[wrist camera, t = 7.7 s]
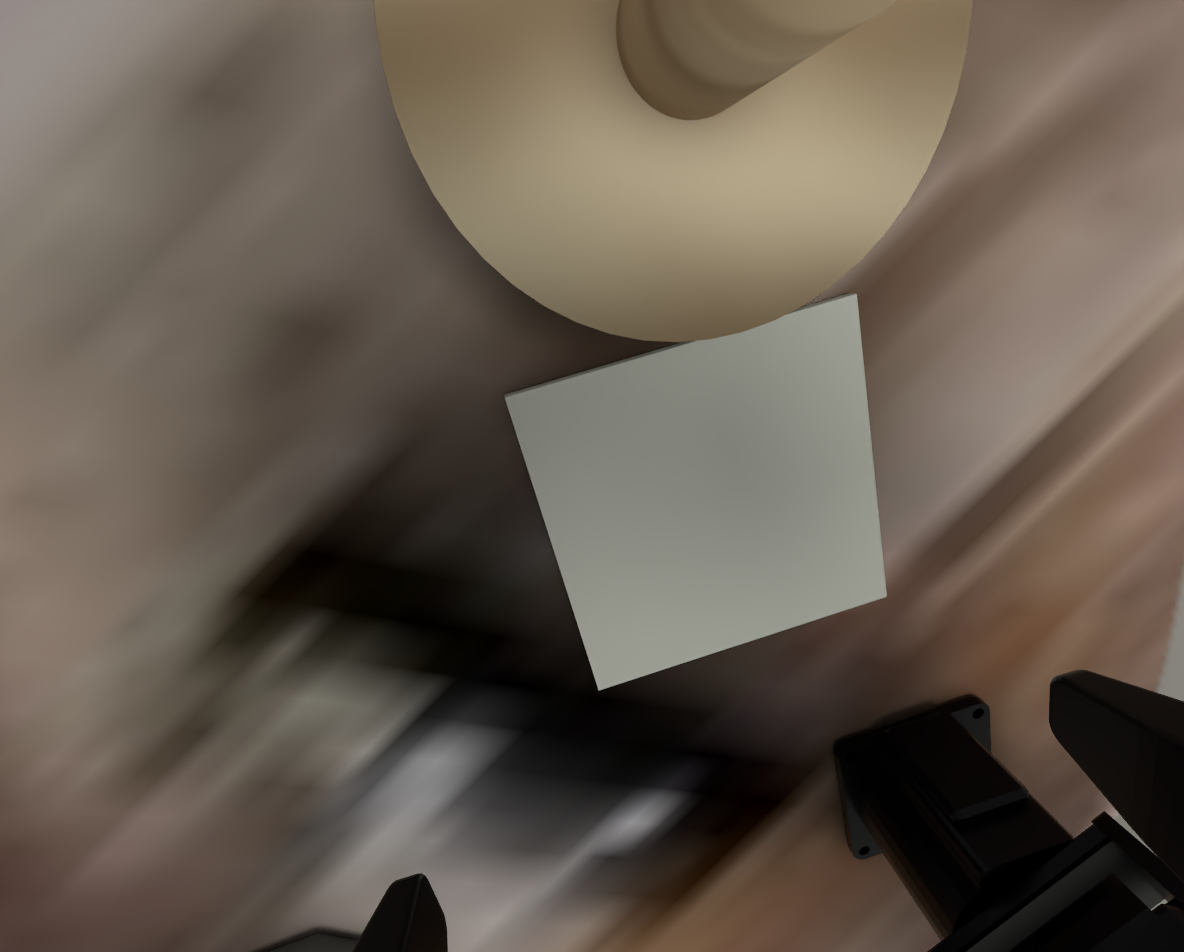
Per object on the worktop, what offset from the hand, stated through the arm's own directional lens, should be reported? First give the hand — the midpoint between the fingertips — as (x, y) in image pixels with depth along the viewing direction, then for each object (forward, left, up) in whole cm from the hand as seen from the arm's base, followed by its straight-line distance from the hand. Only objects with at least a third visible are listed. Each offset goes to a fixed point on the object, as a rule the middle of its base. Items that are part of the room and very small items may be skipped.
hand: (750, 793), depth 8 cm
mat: (-2, -3, -12) cm, 13 cm away
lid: (+10, -3, -7) cm, 13 cm away
